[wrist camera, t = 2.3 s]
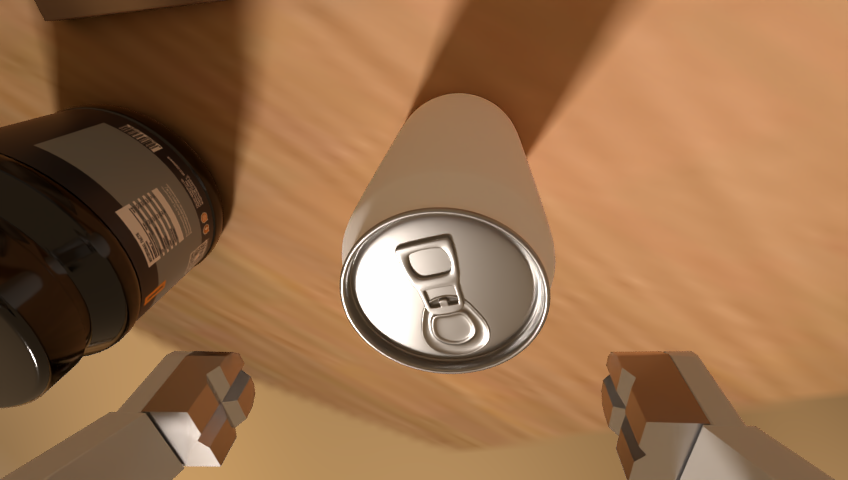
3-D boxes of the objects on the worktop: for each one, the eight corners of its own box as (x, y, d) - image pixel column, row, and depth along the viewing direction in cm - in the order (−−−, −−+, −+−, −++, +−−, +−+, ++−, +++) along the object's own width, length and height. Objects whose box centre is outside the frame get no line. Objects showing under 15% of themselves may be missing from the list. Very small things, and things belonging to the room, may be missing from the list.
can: (419, 220, 23) (375, 395, 13) (379, 112, 20) (280, 227, 10) (530, 194, 21) (583, 369, 11) (505, 72, 18) (546, 158, 8)
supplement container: (38, 183, 25) (-272, 311, 14) (92, 53, 20) (-305, 106, 10) (187, 284, 28) (19, 448, 17) (263, 192, 23) (97, 342, 13)
